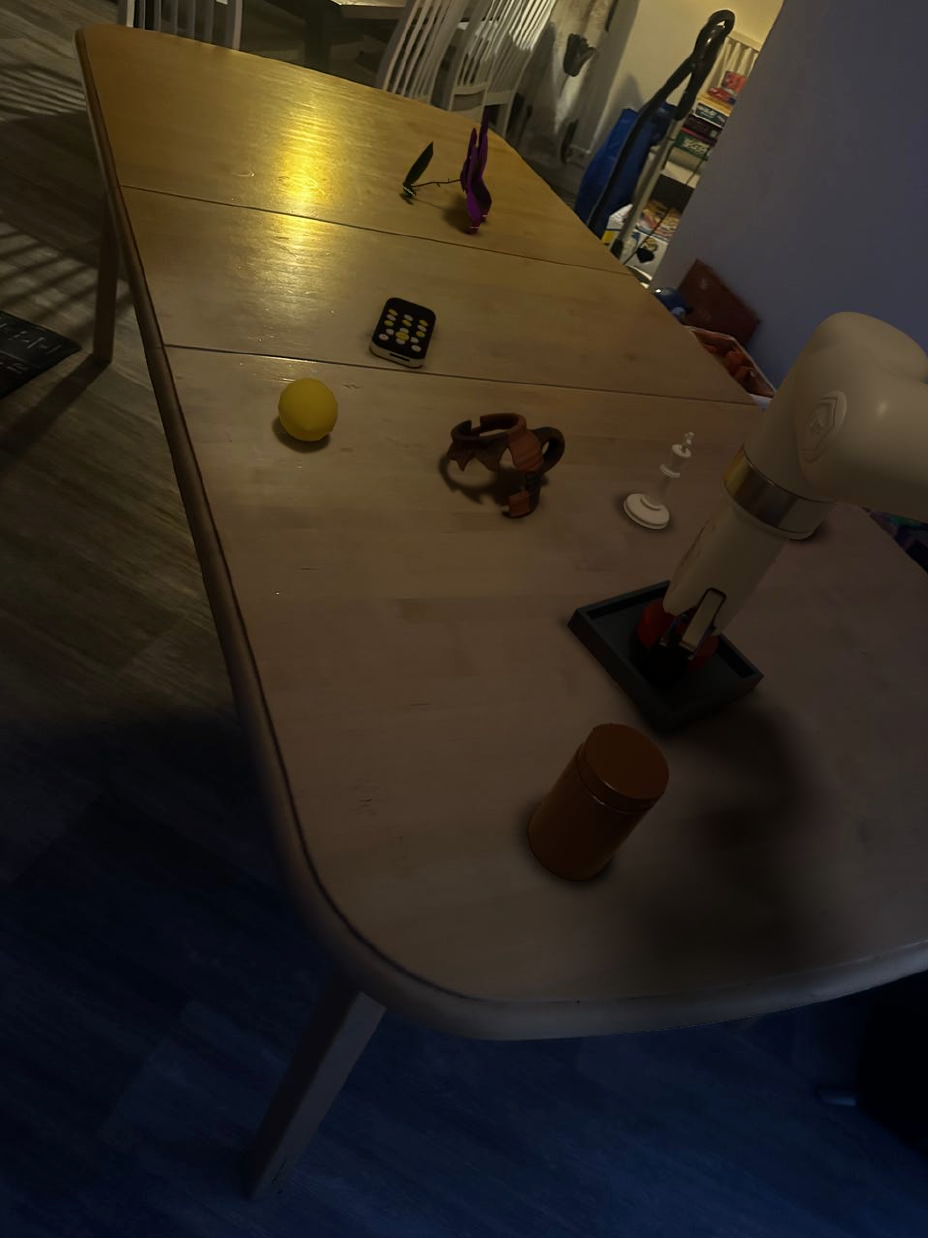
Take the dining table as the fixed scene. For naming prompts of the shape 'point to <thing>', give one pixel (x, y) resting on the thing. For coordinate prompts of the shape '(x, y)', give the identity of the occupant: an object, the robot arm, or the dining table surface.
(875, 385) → the robot arm
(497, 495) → the dining table surface
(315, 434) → the lemon
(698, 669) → the tray
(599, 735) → the jar
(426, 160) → the flower
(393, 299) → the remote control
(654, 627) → the jar lid
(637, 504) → the chess piece
